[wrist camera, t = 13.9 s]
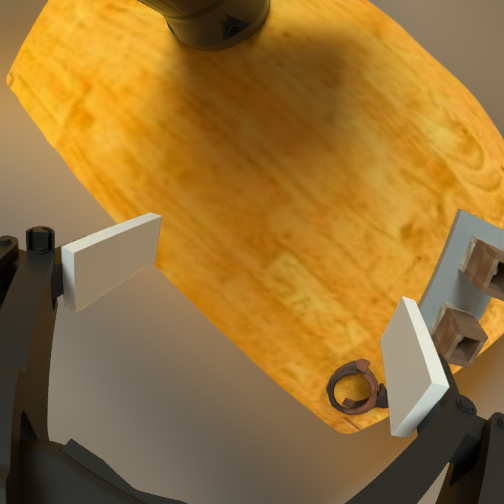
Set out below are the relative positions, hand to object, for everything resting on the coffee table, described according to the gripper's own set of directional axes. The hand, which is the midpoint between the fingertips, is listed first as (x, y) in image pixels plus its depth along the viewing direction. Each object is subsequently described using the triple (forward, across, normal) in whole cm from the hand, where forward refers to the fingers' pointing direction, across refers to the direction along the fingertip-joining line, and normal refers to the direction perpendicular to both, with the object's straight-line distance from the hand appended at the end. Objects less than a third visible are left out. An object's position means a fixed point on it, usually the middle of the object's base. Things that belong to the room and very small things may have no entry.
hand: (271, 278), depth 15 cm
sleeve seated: (+26, +25, +1) cm, 36 cm away
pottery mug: (+27, +17, -25) cm, 41 cm away
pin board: (+27, +25, -4) cm, 37 cm away
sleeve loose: (+26, +25, -9) cm, 37 cm away
